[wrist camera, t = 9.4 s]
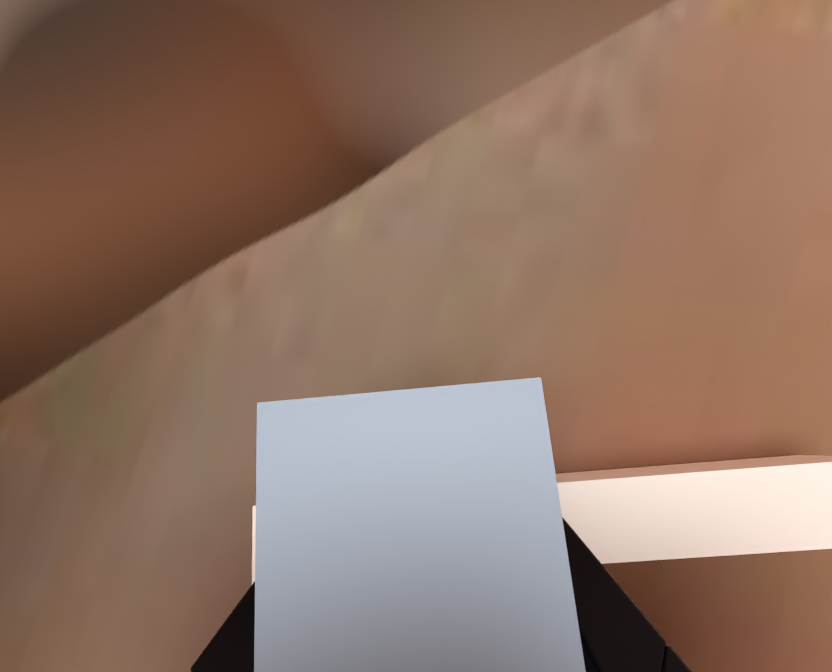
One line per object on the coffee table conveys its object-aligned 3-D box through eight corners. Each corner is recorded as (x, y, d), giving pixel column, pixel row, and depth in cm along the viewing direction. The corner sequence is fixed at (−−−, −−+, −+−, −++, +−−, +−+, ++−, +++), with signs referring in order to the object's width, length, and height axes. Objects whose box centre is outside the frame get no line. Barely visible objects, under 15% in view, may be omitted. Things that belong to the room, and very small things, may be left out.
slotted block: (509, 633, 15) (644, 1060, 4) (388, 640, 15) (249, 1062, 5) (485, 422, 16) (540, 377, 6) (376, 432, 16) (257, 403, 6)
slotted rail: (813, 520, 17) (922, 542, 13) (294, 556, 18) (251, 586, 14) (795, 455, 17) (894, 457, 14) (294, 493, 18) (252, 506, 15)
